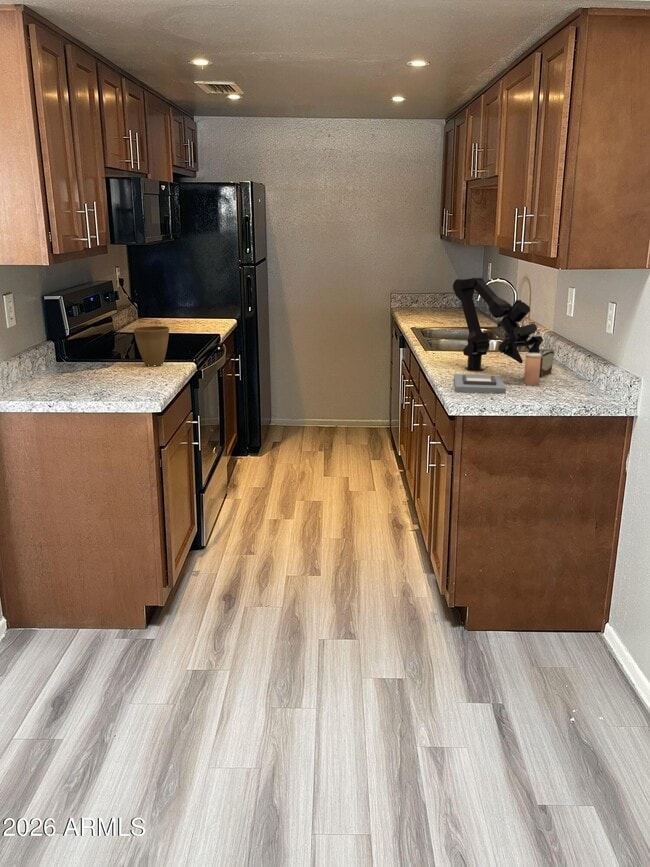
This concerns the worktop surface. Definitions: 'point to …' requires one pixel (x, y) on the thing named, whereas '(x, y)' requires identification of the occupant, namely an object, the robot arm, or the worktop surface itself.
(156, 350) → the plant pot
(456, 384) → the dock
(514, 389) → the worktop surface
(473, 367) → the robot arm
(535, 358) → the terracotta canister
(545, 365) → the food container
